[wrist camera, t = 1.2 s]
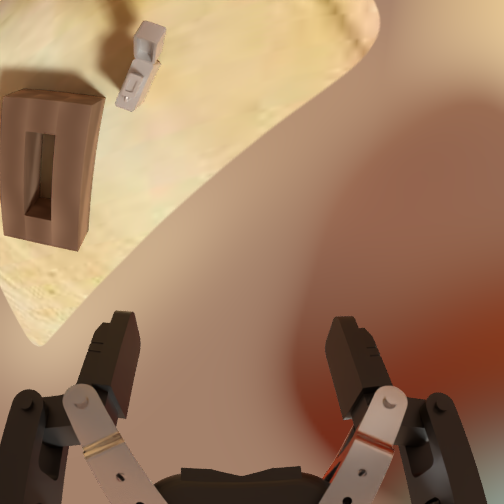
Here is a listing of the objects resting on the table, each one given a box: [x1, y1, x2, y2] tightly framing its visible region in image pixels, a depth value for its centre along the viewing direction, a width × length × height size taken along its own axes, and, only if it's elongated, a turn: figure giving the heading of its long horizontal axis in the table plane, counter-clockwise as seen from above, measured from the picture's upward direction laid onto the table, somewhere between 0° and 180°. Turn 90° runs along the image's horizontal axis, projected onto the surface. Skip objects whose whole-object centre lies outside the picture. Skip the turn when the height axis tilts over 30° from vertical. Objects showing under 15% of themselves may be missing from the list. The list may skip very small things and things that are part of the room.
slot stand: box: [0, 89, 105, 252], centre depth 25 cm, size 9×15×4 cm, turn 161°
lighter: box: [115, 21, 166, 112], centre depth 20 cm, size 7×2×8 cm, turn 152°
